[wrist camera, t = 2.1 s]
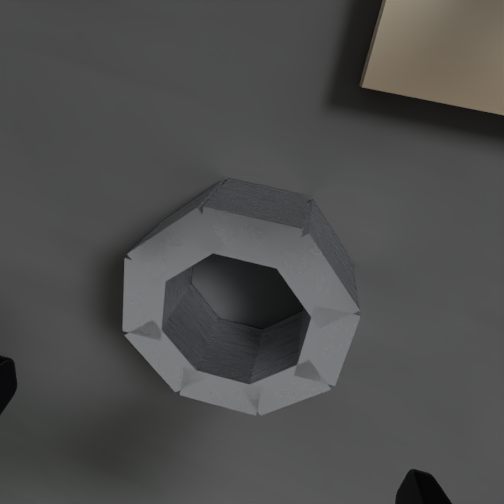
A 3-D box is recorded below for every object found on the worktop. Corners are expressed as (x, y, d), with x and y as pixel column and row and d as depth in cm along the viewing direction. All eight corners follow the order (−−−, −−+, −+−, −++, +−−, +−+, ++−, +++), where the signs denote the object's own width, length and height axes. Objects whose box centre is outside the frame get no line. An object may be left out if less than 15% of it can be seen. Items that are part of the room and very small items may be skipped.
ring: (319, 370, 16) (317, 432, 13) (154, 328, 16) (121, 379, 14) (373, 210, 13) (385, 248, 10) (167, 164, 13) (126, 188, 10)
